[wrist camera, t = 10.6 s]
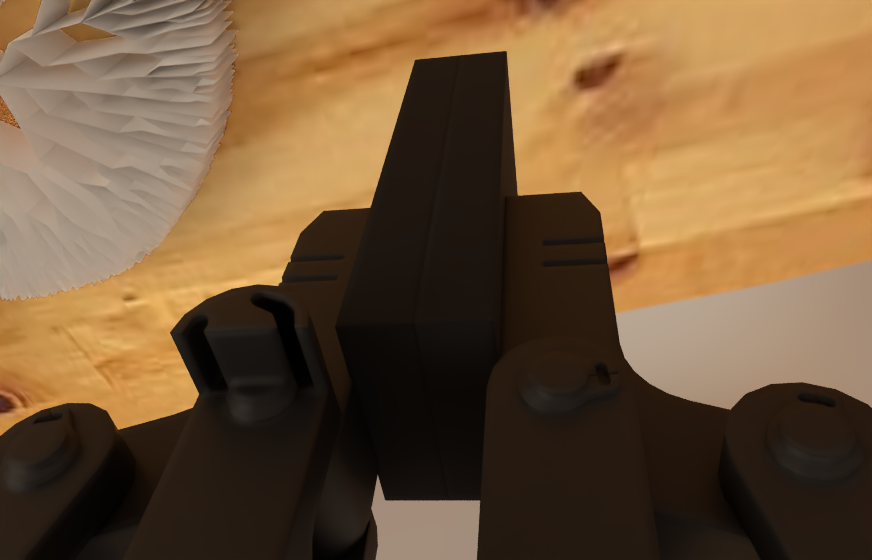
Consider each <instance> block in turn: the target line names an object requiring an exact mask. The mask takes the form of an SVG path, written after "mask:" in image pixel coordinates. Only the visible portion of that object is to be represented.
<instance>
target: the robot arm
mask: <svg viewBox="0 0 872 560" xmlns="http://www.w3.org/2000/svg"><path fill="white" fill-rule="evenodd" d="M290 258H291V262H288V264H287V267H286V269H285V272H284V274H283V276H282V283H280V284H279V286H270V285H252V286H246V287H240V288H235V289H231V290H228V291H226V292H223V293H221V294H218V295H216V296H213V297H211V298H209V299H206V300H205V301H203V302H202V303H201V304H199V305H198V306H196V307H195V308H193V309H192V310H190V311H189V312H188V313H186V314H185V315H184V316H183V317H182V318H181V320H180V321H179V322H178V323H177V325H176V326H175V327H174V328H173V329H172V331H171V332H170V334H171V336H172V338H173V340H174V342H175V344H176V346H177V348H178V350H179V352H180V355H181V357H182V359H183V361H184V363H185V365H186V367H187V369H188V371H189V373H190V376H191V378H192V380H193V382H194V384H195V386H196V388H197V390H198V392H199V396H198V398H197V401H196V403H195V405H194V407H193V408H191V409H188V410H185V411H183V412H180V413H177V414H174V415H171V416H167V417H163V418H160V419H156V420H153V421H149V422H145V423H142V424H138V425H135V426H131V427H127V428H124V429H120V430H118V429H117V427H116V426H115V424H114V422H113V421H112V419H111V417H110V416H109V414H108V412H107V411H106V410H103V409H101V408H99V407H97V406H95V405H93V404H90V403H66V404H63V405H59V406H55V407H52V408H48V409H44V410H41V411H39V412H37V413H35V414H34V415H32V416H30V417H28V418H26V419H24V420H22V421H20V422H18V423H16V424H15V425H14V426H12V427H11V428H10V429H9V430H7V431H6V432H5V433H4V434H2V435H1V436H0V560H375V559H376V553H377V547H378V542H377V526H376V522H375V520H374V516H373V513H372V510H371V506H372V502H373V496H374V491H375V486H376V480H377V475H378V476H379V480H380V483H381V487H382V490H383V494H384V497H385V500H480V516H479V533H478V551H477V560H872V408H871V407H870V406H869V405H868V404H866V403H863V402H861V401H859V400H857V399H855V398H853V397H851V396H849V395H847V394H845V393H843V392H840V391H838V390H836V389H832V388H827V387H822V386H817V385H812V384H807V383H802V382H801V383H783V384H770V385H768V386H765V387H762V388H760V389H757V390H755V391H752V392H749V393H747V394H745V395H744V396H743V397H742V398H741V399H740V401H738V403H737V404H736V405H735V406H734V407H733V408H732V409H731V410H729V409H724V408H720V407H715V406H711V405H707V404H702V403H698V402H693V401H689V400H686V399H683V398H680V397H676V396H674V395H671V394H668V393H666V392H664V391H662V390H660V389H658V388H656V387H655V386H652V385H651V384H649V383H648V382H647V381H645V380H644V379H643V378H642V377H640V376H639V375H638V374H637V373H636V372H635V371H634V370H633V369H632V367H631V366H630V365H629V363H628V362H627V361H626V359H625V358H624V355H623V352H622V349H621V346H620V342H619V335H618V328H617V322H616V315H615V308H614V302H613V295H612V288H611V281H610V275H609V268H608V264H607V255H606V248H605V242H604V235H603V228H602V221H601V214H600V212H599V211H598V209H597V208H596V207H595V206H594V205H593V204H592V203H591V202H590V201H589V200H588V199H587V198H586V197H585V196H584V195H583V193H582V192H569V193H554V194H538V195H523V196H518V194H517V181H516V168H515V155H514V142H513V129H512V116H511V103H510V90H509V77H508V65H507V52H506V51H502V52H492V53H481V54H471V55H460V56H450V57H440V58H429V59H419V60H415V62H414V66H413V69H412V72H411V76H410V79H409V82H408V85H407V89H406V92H405V95H404V99H403V102H402V105H401V109H400V112H399V115H398V119H397V122H396V125H395V129H394V132H393V135H392V139H391V142H390V145H389V148H388V152H387V155H386V158H385V162H384V165H383V168H382V172H381V175H380V178H379V182H378V185H377V188H376V192H375V195H374V198H373V202H372V205H371V208H363V209H348V210H332V211H323V212H322V213H321V214H320V215H319V216H318V217H317V218H316V219H315V220H314V221H313V222H312V223H311V224H310V225H309V226H308V227H306V228H305V229H304V230H303V231H302V232H301V233H300V236H299V238H298V241H297V243H296V245H295V248H294V250H293V253H292V255H291V257H290Z"/></svg>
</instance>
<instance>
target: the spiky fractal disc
mask: <svg viewBox="0 0 872 560" xmlns="http://www.w3.org/2000/svg"><path fill="white" fill-rule="evenodd" d="M5 1H6V0H0V6H1V5H2V4H3V3H4V2H5ZM223 1H224V0H91V1H90V4H89V6H88V8H85V9H81V10H78V11H74V12H71V13H68V11H69V8H70V5H71V2H72V0H42V1H41V4H40V8H39V11H38V15H37V18H36V21H35V25H34V28H32V29H30V30H29V31H27V32H26V33H24V34H22V35H21V36H19V37H18V38H16V39H14V40H13V41H11V42H9V43H8V46H7V48H6V51H5V53H4V52H3V51H2V50H0V95H1V97H2V99H3V100H4V102H5V104H6V105H7V107H8V108H9V110H10V112H11V113H12V115H13V116H14V118H15V120H16V121H17V123H18V124H19V126H20V128H21V129H20V128H17V127H15V126H13V125H10V124H8V123H6V122H3V121H1V120H0V297H1V298H2V301H3V300H4V299H6V300H7V301H8V300H9V299H10V301H12V299H14V300H15V299H16V298H17V297H18V296H20V298H21V300H22V301H23V300H24V299H26V298H27V297H29V299H30V298H31V297H33V299H34V298H35V297H36V296H37V299H38V298H39V296H40V295H41V296H42V297H44V296H45V295H46V297H47V296H48V294H49V293H51V294H52V296H54V294H55V293H56V294H57V292H58V291H59V292H61V291H62V290H63V291H64V292H65V293H66V292H67V291H68V292H69V291H70V290H71V289H72V288H73V287H74V288H75V289H76V291H77V290H78V289H79V288H80V287H81V288H82V287H83V286H84V285H86V284H88V285H89V284H90V283H91V282H92V283H93V284H94V285H95V284H96V283H97V281H98V282H99V283H100V281H101V280H102V281H103V282H104V281H105V280H108V279H109V277H110V276H111V275H113V276H114V277H115V276H116V274H117V275H119V274H120V273H122V272H123V271H124V272H125V271H126V269H127V268H128V270H130V268H131V267H133V266H134V264H135V263H136V262H137V263H139V264H140V262H141V261H142V260H143V258H144V257H145V255H146V254H147V255H148V256H149V255H150V254H151V253H152V251H153V250H154V249H155V248H156V247H157V248H158V247H159V245H160V244H161V242H162V241H163V239H164V238H166V236H167V235H168V234H169V232H170V231H171V229H172V228H173V226H174V225H175V224H176V222H177V221H178V220H179V218H180V217H181V215H182V214H183V212H184V211H185V210H186V208H187V207H188V205H189V204H190V202H191V201H192V200H193V198H194V197H195V195H196V194H197V191H198V190H199V188H200V187H201V185H202V184H200V183H201V182H202V180H203V179H204V178H205V176H206V175H207V173H208V172H209V170H210V169H211V168H209V166H210V164H211V163H212V162H213V160H214V158H215V157H213V155H214V154H215V152H216V151H217V149H218V148H219V147H220V145H221V144H219V142H220V140H221V139H222V137H223V135H224V134H223V132H224V131H225V129H226V128H225V126H226V125H227V124H225V123H226V121H227V120H226V119H227V117H228V116H229V115H230V114H231V112H232V111H227V109H228V107H229V106H230V105H231V101H232V100H233V99H232V96H233V95H232V94H231V92H232V91H233V90H232V89H230V88H231V87H232V86H233V84H234V83H230V82H231V81H232V80H233V78H234V77H235V76H232V75H233V74H234V72H235V71H236V70H232V68H233V67H234V66H235V65H231V64H232V63H233V62H234V61H235V60H236V59H237V58H236V57H237V56H238V55H239V54H234V52H235V51H236V50H237V49H232V48H233V47H234V46H235V45H229V44H230V43H231V42H232V41H233V40H234V39H235V37H236V36H234V35H235V34H236V33H237V32H238V31H239V30H240V29H237V30H226V31H224V30H225V29H226V28H227V27H228V26H229V25H230V24H231V23H232V22H233V21H234V20H233V21H226V22H224V21H225V20H226V19H227V18H228V17H229V16H230V15H231V14H232V13H233V12H234V11H228V12H221V11H222V10H223V9H225V8H226V7H227V6H228V5H229V4H230V3H231V2H232V1H233V0H232V1H226V2H223ZM78 23H82V24H85V25H88V26H91V27H94V28H97V29H100V30H103V31H106V32H109V33H111V34H114V35H117V36H113V37H108V38H103V39H95V40H87V41H79V42H78V41H76V40H75V39H73V38H72V37H71V36H69V35H68V34H66V33H65V32H64V31H62V30H61V29H60V28H64V27H67V26H71V25H74V24H78ZM233 36H234V37H233ZM228 45H229V46H228ZM126 53H134V54H126Z"/></svg>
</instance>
